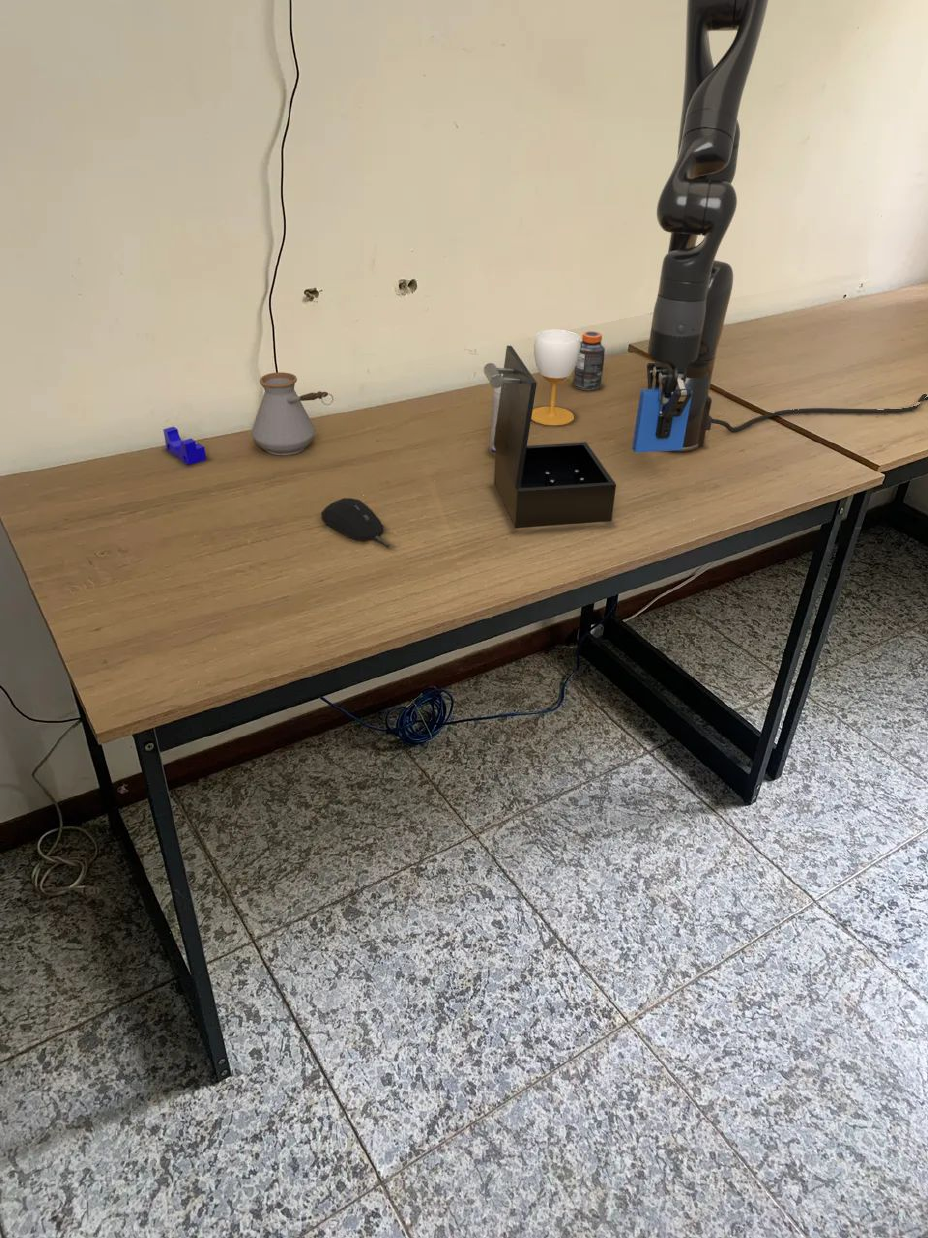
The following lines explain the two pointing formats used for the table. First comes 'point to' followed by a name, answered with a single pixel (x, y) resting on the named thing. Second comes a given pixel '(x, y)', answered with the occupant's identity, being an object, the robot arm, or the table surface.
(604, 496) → the black square open box
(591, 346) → the pill bottle
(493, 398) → the energy drink
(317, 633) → the table surface
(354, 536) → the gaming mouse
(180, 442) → the cable holder
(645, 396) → the blue lid
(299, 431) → the coffee pot
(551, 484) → the rack
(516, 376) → the black lid with handle
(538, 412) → the cup
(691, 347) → the robot arm
